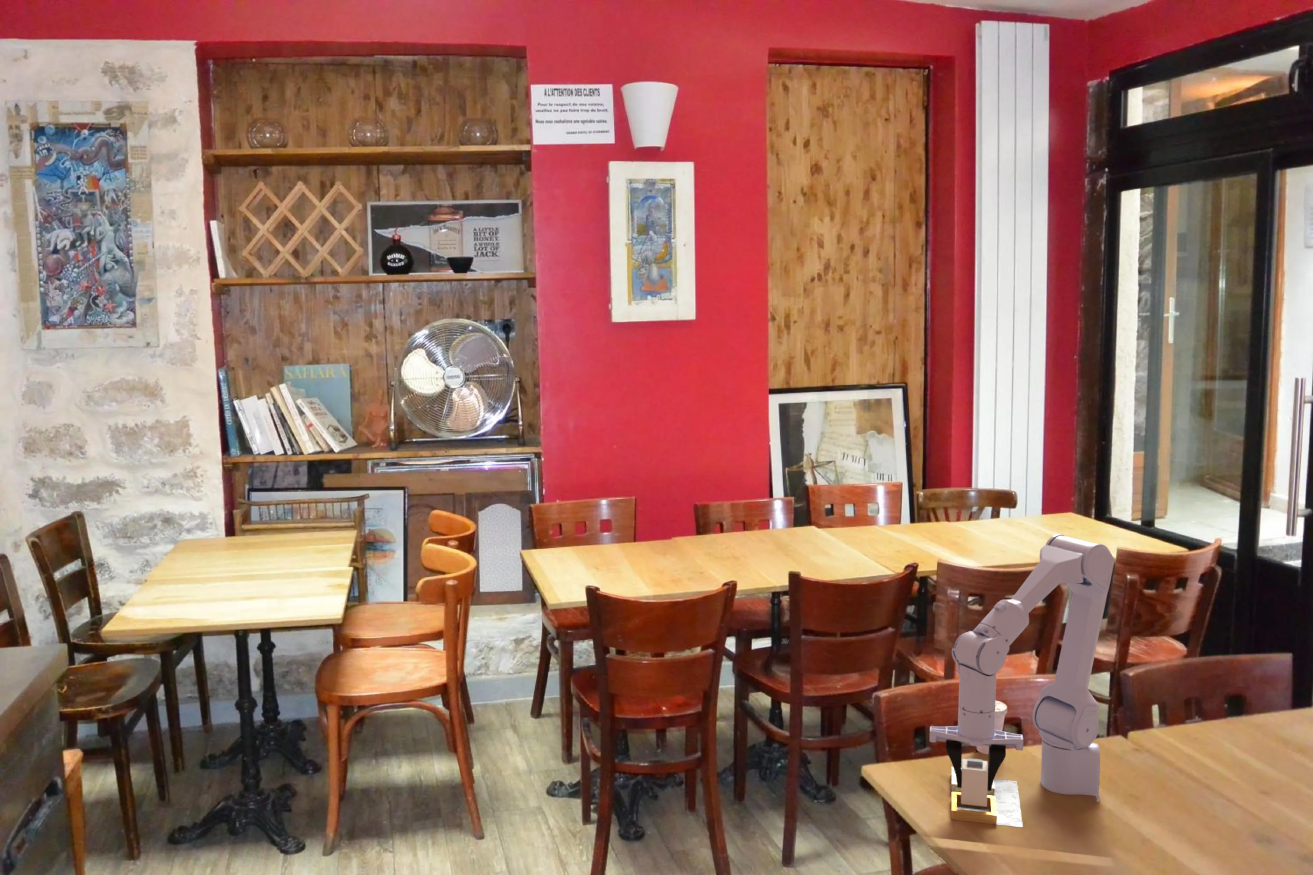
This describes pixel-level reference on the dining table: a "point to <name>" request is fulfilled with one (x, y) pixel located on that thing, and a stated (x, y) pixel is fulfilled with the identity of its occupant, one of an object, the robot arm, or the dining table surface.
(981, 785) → the plug
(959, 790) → the panel
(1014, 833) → the dining table surface
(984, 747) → the smoothie
